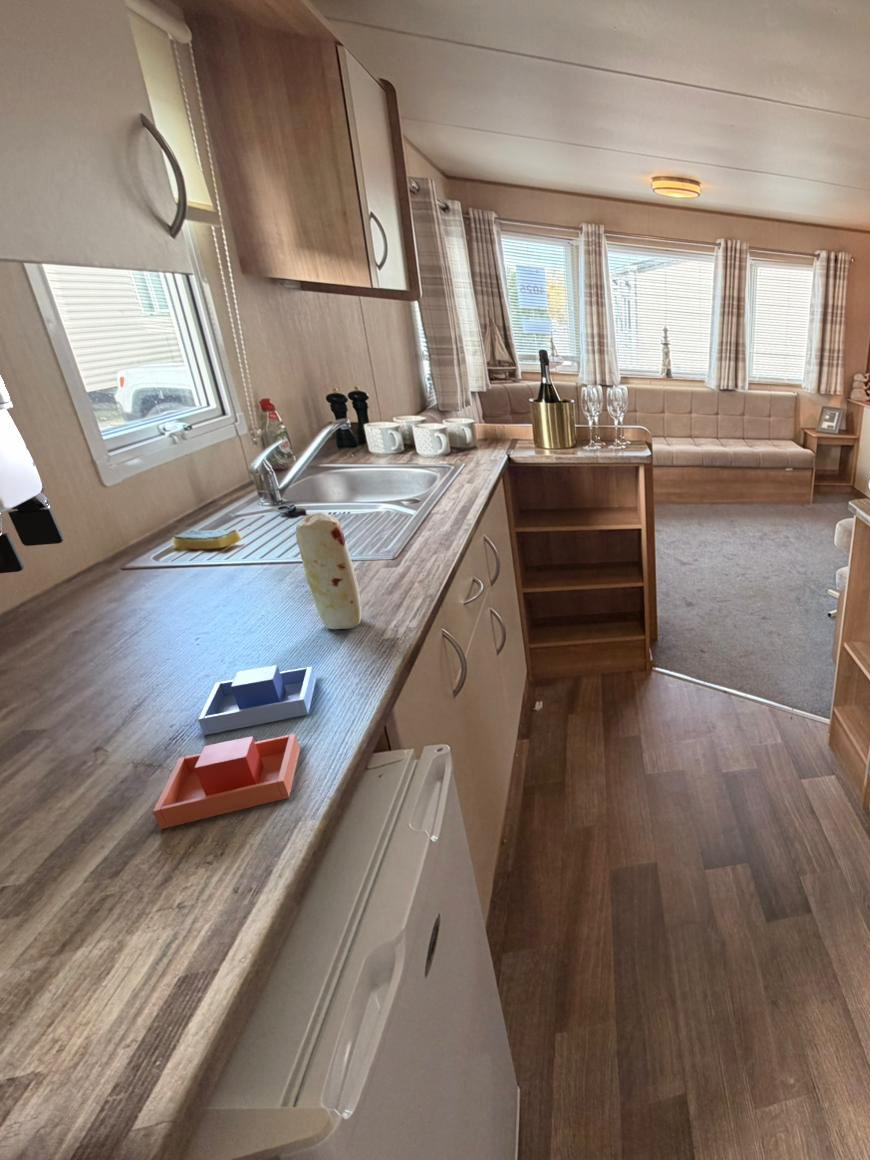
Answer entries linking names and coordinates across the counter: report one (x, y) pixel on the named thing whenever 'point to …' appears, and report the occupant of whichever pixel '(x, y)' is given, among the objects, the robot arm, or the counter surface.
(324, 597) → the food model
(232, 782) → the red block
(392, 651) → the counter surface
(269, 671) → the blue block
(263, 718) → the blue tray
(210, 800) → the red tray
